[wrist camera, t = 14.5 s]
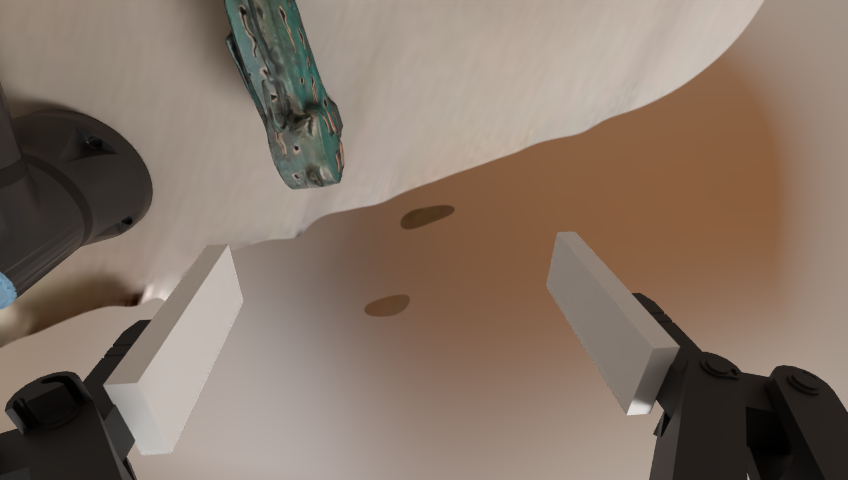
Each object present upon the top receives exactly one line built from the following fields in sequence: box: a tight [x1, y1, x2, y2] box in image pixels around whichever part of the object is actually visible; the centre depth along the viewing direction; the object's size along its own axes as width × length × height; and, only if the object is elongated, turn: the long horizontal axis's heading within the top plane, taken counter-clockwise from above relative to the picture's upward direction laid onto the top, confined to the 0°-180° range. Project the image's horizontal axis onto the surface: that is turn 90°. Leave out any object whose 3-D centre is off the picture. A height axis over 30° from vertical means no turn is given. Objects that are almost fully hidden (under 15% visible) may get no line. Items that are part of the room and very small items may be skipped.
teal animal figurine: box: [224, 0, 344, 189], centre depth 34 cm, size 20×6×20 cm, turn 11°
